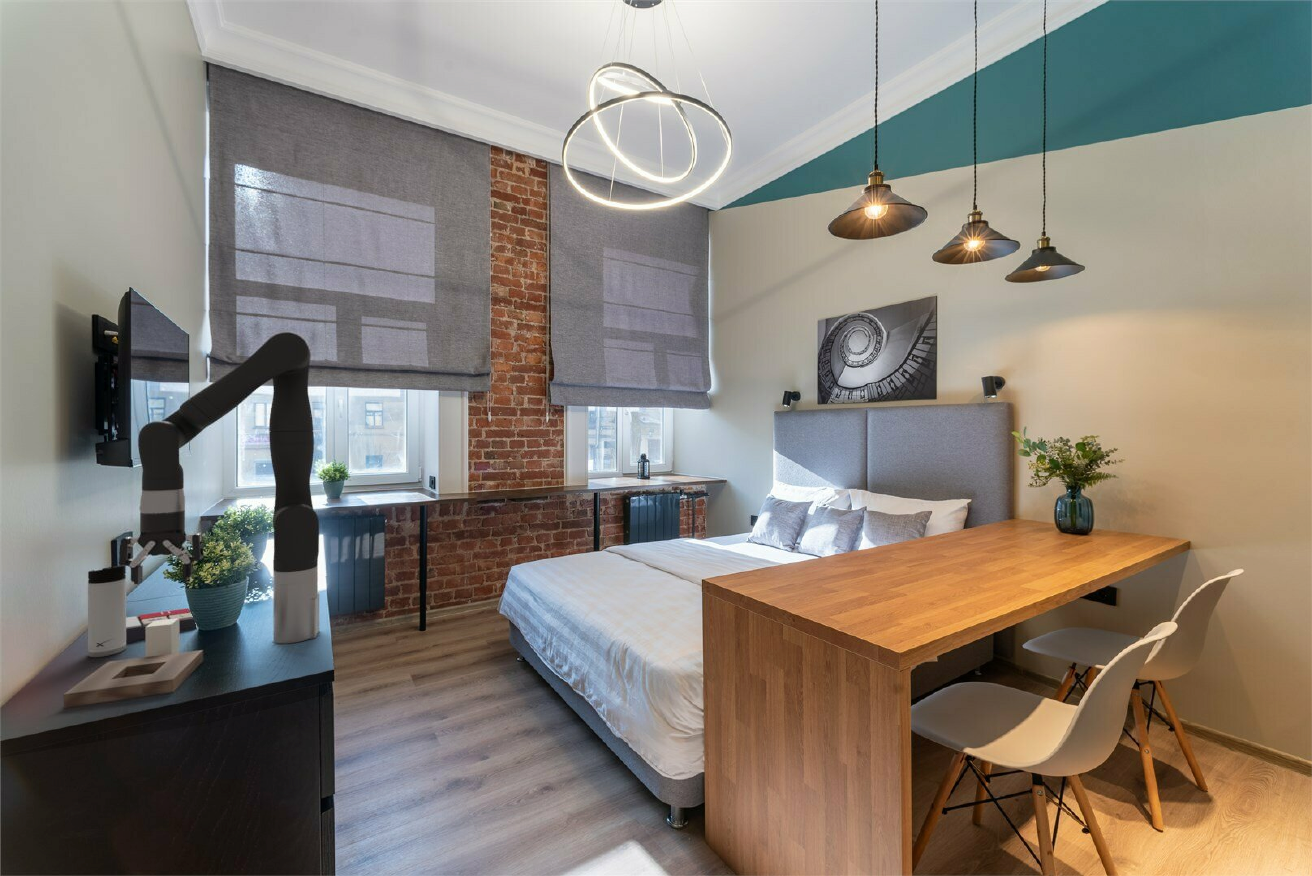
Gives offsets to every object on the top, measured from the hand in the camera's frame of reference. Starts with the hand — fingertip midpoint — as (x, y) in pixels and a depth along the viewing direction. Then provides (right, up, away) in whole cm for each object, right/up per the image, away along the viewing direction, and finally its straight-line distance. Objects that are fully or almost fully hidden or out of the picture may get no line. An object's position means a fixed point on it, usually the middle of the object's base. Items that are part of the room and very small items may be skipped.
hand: (162, 581), depth 124 cm
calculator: (-17, -18, +17) cm, 30 cm away
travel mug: (-15, -17, +3) cm, 23 cm away
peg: (0, -17, 0) cm, 17 cm away
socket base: (+7, -17, -12) cm, 22 cm away
